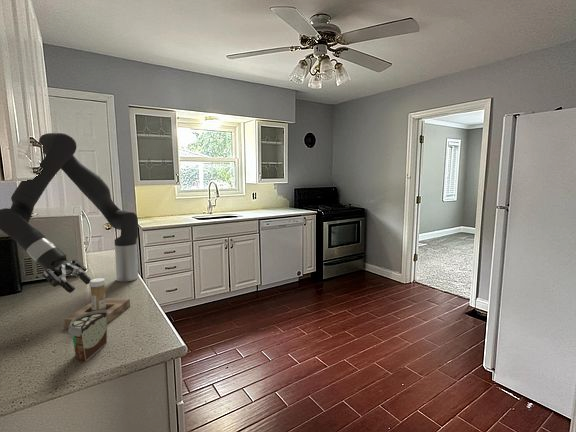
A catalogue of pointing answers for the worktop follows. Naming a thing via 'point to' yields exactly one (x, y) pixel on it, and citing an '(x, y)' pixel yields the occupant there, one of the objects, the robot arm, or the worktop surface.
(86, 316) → the food container
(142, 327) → the worktop surface
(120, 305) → the walnut caddy
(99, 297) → the sprinkles bottle
